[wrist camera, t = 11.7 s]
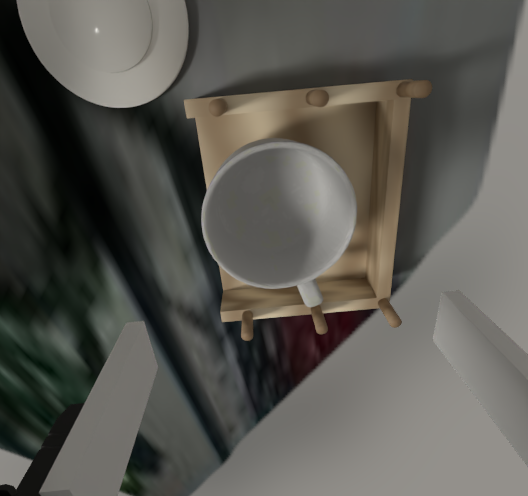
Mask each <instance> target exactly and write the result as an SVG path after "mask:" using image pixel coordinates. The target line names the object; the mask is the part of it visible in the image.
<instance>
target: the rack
mask: <svg viewBox="0 0 528 496" xmlns="http://www.w3.org/2000/svg"><path fill="white" fill-rule="evenodd" d="M431 91H432V84H431V82H430V81H428V80H419V81H413V79H408V80H395V81H383V82H372V83H361V84H350V85H339V86H328V87H317V88H306V89H295V90H284V91H273V92H262V93H251V94H240V95H229V96H218V97H207V98H196V99H188V100H184V104H185V110H186V116H187V118H195V119H196V125H197V132H198V138H199V144H200V150H201V156H202V162H203V169H204V175H205V181H206V187H207V189H208V187H209V185H210V183H211V181H212V179H213V178H214V176H215V175H216V173H217V171H218V169H219V168H220V166H221V165H222V164H223V162H224V161H225V160H226V159H227V158H228V157H229V156H230V155H231V154H232V153H234V152H235V151H236V150H238V149H239V148H241V147H242V146H244V145H246V144H248V143H251V142H254V141H257V140H261V139H267V138H282V139H288V140H293V141H296V142H299V143H303V144H308V145H310V146H312V147H315V148H317V149H319V150H321V151H323V152H324V153H326V154H327V155H329V156H330V157H332V158H333V159H334V160H335V161H336V162H337V163H338V164H339V165H340V166H341V168H342V169H343V170H344V172H345V173H346V175H347V176H348V178H349V180H350V182H351V184H352V186H353V189H354V192H355V196H356V203H357V216H356V226H355V230H354V233H353V236H352V239H351V241H350V243H349V245H348V247H347V249H346V250H345V252H344V253H343V255H342V256H341V257H340V258H339V260H338V261H337V262H336V263H335V264H334V265H333V266H332V267H330V268H329V269H328V270H326V271H325V272H324V273H323V274H321V275H320V276H318V277H317V278H315V279H316V281H317V284H318V286H319V289H320V291H321V294H322V296H323V302H322V303H321V304H319V305H317V306H315V307H307V306H306V305H305V303H304V301H303V299H302V296H301V294H300V292H299V289H298V287H297V286H292V287H287V288H279V289H265V288H258V287H255V286H251V285H248V284H246V283H244V282H241V281H239V280H237V279H235V278H234V277H232V276H231V275H229V274H228V273H227V272H226V271H225V270H223V269H222V267H221V266H220V265H219V267H220V273H221V279H222V285H223V297H222V304H221V311H220V312H221V318H222V322H228V321H240V320H242V333H241V337H242V339H243V340H246V341H249V340H251V339H252V338H253V319H262V318H274V317H285V316H296V315H307V314H312V317H313V320H314V324H315V328H316V331H317V333H319V334H324V333H326V332H327V330H328V328H327V324H326V321H325V318H324V315H323V313H330V312H341V311H352V310H364V309H375V308H380V309H381V310H382V312H383V314H384V315H385V317H386V319H387V320H388V322H389V324H390V326H391V327H394V328H395V327H398V326H400V325H401V323H402V321H401V319H400V318H399V316H398V315H397V314H396V312H395V311H394V309H393V307H392V306H391V304H390V303H389V301H390V292H391V283H392V273H393V264H394V254H395V245H396V235H397V226H398V216H399V207H400V198H401V188H402V179H403V169H404V160H405V150H406V141H407V131H408V122H409V112H410V103H411V98H425V97H427V96H428V95H429V94H430V93H431Z"/></svg>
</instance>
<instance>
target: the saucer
mask: <svg viewBox="0 0 528 496" xmlns="http://www.w3.org/2000/svg"><path fill="white" fill-rule="evenodd" d="M17 6H18V11H19V16H20V19H21V23H22V26H23V29H24V31H25V34H26V36H27V39H28V41H29V43H30V45H31V46H32V48H33V50H34V52H35V54H36V55H37V57H38V58H39V60H40V61H41V63H42V64H43V65H44V66H45V68H46V69H47V70H48V71H49V72H50V74H51V75H52V76H53V77H54V78H55V79H56V80H57V81H58V82H60V83H61V84H62V85H63V86H64V87H66V88H67V89H68V90H70V91H71V92H73V93H74V94H76V95H77V96H79V97H81V98H83V99H85V100H87V101H89V102H92V103H95V104H98V105H102V106H106V107H113V108H128V107H134V106H139V105H142V104H145V103H148V102H150V101H152V100H154V99H156V98H157V97H159V96H160V95H162V94H163V93H164V92H165V91H166V90H167V89H168V88H169V87H170V86H171V85H172V83H173V82H174V81H175V79H176V78H177V76H178V74H179V72H180V71H181V68H182V66H183V63H184V61H185V57H186V53H187V49H188V41H189V21H188V12H187V7H186V2H185V0H17Z"/></svg>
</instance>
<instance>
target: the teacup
mask: <svg viewBox="0 0 528 496" xmlns="http://www.w3.org/2000/svg"><path fill="white" fill-rule="evenodd" d="M356 216H357V203H356V196H355V192H354V189H353V186H352V184H351V182H350V180H349V178H348V176H347V175H346V173H345V172H344V170H343V169H342V168H341V166H340V165H339V164H338V163H337V162H336V161H335V160H334V159H333V158H332V157H330V156H329V155H327V154H326V153H324V152H323V151H321V150H319V149H317V148H315V147H312V146H310V145H308V144H303V143H299V142H296V141H293V140H288V139H282V138H267V139H261V140H257V141H254V142H251V143H248V144H246V145H244V146H242V147H241V148H239V149H238V150H236V151H235V152H234V153H232V154H231V155H230V156H229V157H228V158H227V159H226V160H225V161H224V162H223V164H222V165H221V166H220V168H219V169H218V171H217V173H216V175H215V176H214V178H213V179H212V181H211V183H210V185H209V187H208V189H207V192H206V195H205V198H204V202H203V206H202V214H201V218H202V220H201V224H202V232H203V236H204V240H205V242H206V245H207V247H208V250H209V252H210V254H211V255H212V256H213V258H214V260H215V261H217V263H218V264H219V265H220V266H221V267H222V269H223V270H225V271H226V272H227V273H228V274H229V275H231V276H232V277H234V278H235V279H237V280H239V281H241V282H244V283H246V284H248V285H251V286H255V287H258V288H265V289H279V288H287V287H292V286H297V287H298V289H299V292H300V294H301V296H302V299H303V301H304V303H305V305H306V306H307V307H315V306H317V305H319V304H321V303H322V302H323V296H322V294H321V291H320V289H319V286H318V284H317V281H316V279H315V278H317V277H318V276H320V275H321V274H323V273H324V272H325V271H326V270H328V269H329V268H330V267H332V266H333V265H334V264H335V263H336V262H337V261H338V260H339V258H340V257H341V256H342V255H343V253H344V252H345V250H346V249H347V247H348V245H349V243H350V241H351V239H352V236H353V233H354V230H355V226H356Z"/></svg>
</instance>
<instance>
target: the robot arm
mask: <svg viewBox="0 0 528 496" xmlns="http://www.w3.org/2000/svg"><path fill="white" fill-rule="evenodd" d="M433 341H434V343H435V344H436V345H437V346H438V348H439V349H440V351H441V352H442V353H443V355H444V356H445V357H446V359H447V360H448V361H449V362H450V364H451V365H452V366H453V368H454V369H455V371H456V372H457V373H458V374H459V376H460V377H461V378H462V380H463V381H464V382H465V384H466V385H467V387H468V388H469V389H470V391H471V392H472V393H473V395H474V396H475V397H476V399H478V401H479V402H480V404H481V405H482V406H483V408H484V409H485V411H486V412H487V413H488V415H489V416H490V417H491V419H492V420H493V421H494V423H495V424H496V425H497V426H498V428H499V429H500V431H501V432H502V433H503V435H504V436H505V437H506V439H507V440H508V441H509V443H510V444H511V445H512V447H513V448H514V449H515V451H516V452H517V453H518V455H519V456H520V457H521V458H522V460H523V461H524V463H525V464H526V465H527V466H528V354H527V353H526V352H525V351H524V350H523V349H521V348H520V347H519V346H518V345H517V344H516V343H515V342H514V341H513V340H512V339H511V338H510V337H509V336H508V335H506V334H505V333H504V332H503V331H502V330H501V329H500V328H499V327H498V326H497V325H496V324H495V323H494V322H492V320H491V319H489V318H488V317H487V316H486V315H485V314H484V313H483V312H482V311H481V310H480V309H479V308H478V307H477V306H475V305H474V304H473V303H472V302H471V301H470V300H469V299H468V298H467V297H466V296H465V295H463V293H462V292H461V291H459V290H456V291H446V292H442V295H441V300H440V305H439V310H438V315H437V320H436V326H435V331H434V337H433ZM157 369H158V366H157V362H156V359H155V356H154V352H153V349H152V346H151V343H150V339H149V336H148V333H147V330H146V326H145V323H144V321H139V322H129V323H126V324H125V326H124V328H123V330H122V332H121V334H120V336H119V338H118V340H117V342H116V344H115V346H114V348H113V349H112V351H111V353H110V355H109V357H108V359H107V361H106V363H105V365H104V367H103V369H102V371H101V373H100V375H99V377H98V379H97V381H96V383H95V384H94V386H93V388H92V390H91V392H90V394H89V396H88V398H87V400H86V402H85V403H81V404H71V405H70V406H69V407H68V408H67V409H66V410H65V411H64V412H63V413H62V414H61V415H60V416H59V417H58V418H57V420H56V422H55V423H54V425H53V427H52V429H51V430H50V432H49V436H48V437H46V439H45V441H44V443H43V444H42V446H41V450H39V451H38V453H37V455H36V456H35V458H34V460H33V462H32V463H31V466H30V467H29V469H28V470H27V472H26V474H25V476H24V477H23V479H22V481H21V483H20V484H19V486H18V488H17V489H15V488H14V486H10V485H7V484H5V485H0V496H117V495H118V492H119V489H120V486H121V483H122V480H123V476H124V473H125V470H126V467H127V464H128V461H129V458H130V454H131V451H132V448H133V445H134V442H135V439H136V435H137V432H138V429H139V426H140V423H141V420H142V417H143V413H144V410H145V407H146V404H147V401H148V398H149V394H150V391H151V388H152V385H153V382H154V379H155V376H156V372H157Z"/></svg>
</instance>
